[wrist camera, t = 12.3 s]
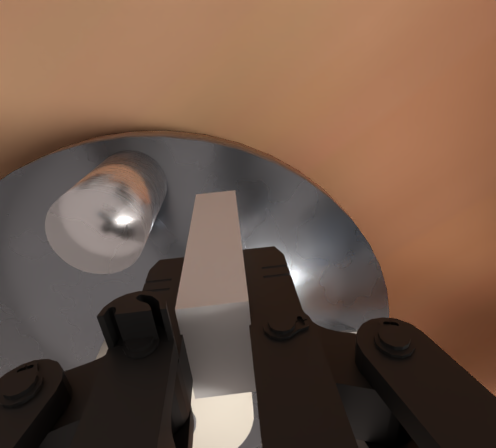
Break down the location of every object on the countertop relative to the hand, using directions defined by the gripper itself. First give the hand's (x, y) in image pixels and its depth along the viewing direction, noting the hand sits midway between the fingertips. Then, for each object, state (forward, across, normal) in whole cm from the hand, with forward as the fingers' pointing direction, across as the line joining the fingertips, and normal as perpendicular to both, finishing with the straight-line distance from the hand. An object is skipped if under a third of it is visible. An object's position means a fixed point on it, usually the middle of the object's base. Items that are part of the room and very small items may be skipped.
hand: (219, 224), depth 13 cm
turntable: (+4, -4, -10) cm, 11 cm away
